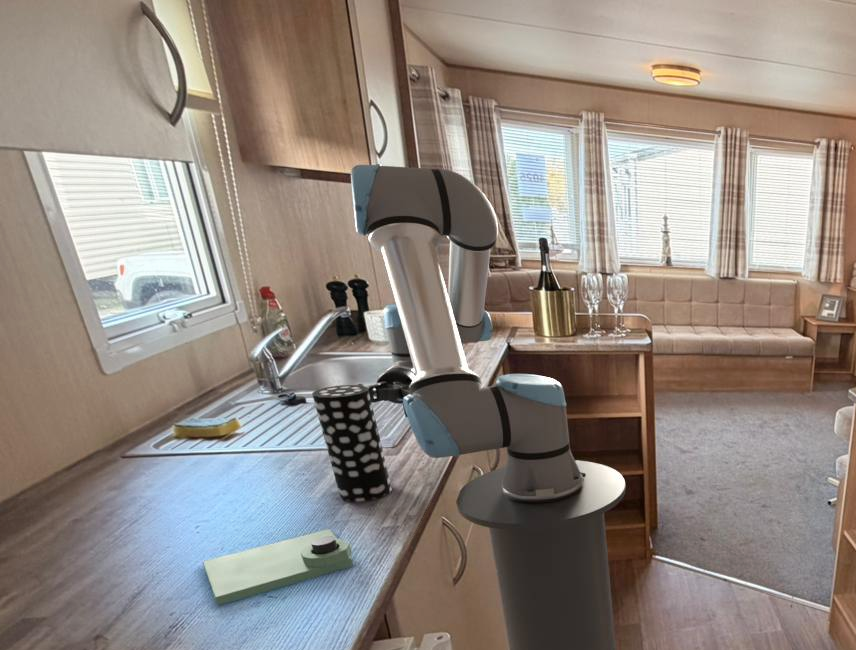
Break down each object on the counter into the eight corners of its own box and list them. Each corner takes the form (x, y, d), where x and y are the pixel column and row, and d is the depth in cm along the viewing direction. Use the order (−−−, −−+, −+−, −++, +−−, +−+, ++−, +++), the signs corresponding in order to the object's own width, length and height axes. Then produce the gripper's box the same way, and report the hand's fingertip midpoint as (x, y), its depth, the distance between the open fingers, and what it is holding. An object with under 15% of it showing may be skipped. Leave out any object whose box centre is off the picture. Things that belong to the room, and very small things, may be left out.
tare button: (335, 543, 99) (332, 533, 98) (340, 550, 97) (337, 540, 96) (311, 550, 97) (308, 540, 96) (316, 557, 95) (313, 547, 94)
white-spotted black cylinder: (396, 482, 127) (373, 384, 118) (386, 499, 119) (361, 396, 111) (347, 485, 124) (321, 385, 116) (334, 503, 117) (304, 398, 109)
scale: (335, 535, 106) (330, 519, 105) (358, 566, 98) (353, 549, 97) (205, 569, 95) (198, 551, 94) (218, 607, 87) (211, 589, 86)
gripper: (464, 398, 147) (441, 427, 129) (342, 400, 141) (298, 431, 123) (459, 366, 144) (434, 391, 126) (333, 367, 138) (288, 394, 120)
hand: (367, 411), depth 124 cm, fingers open, 13 cm apart
